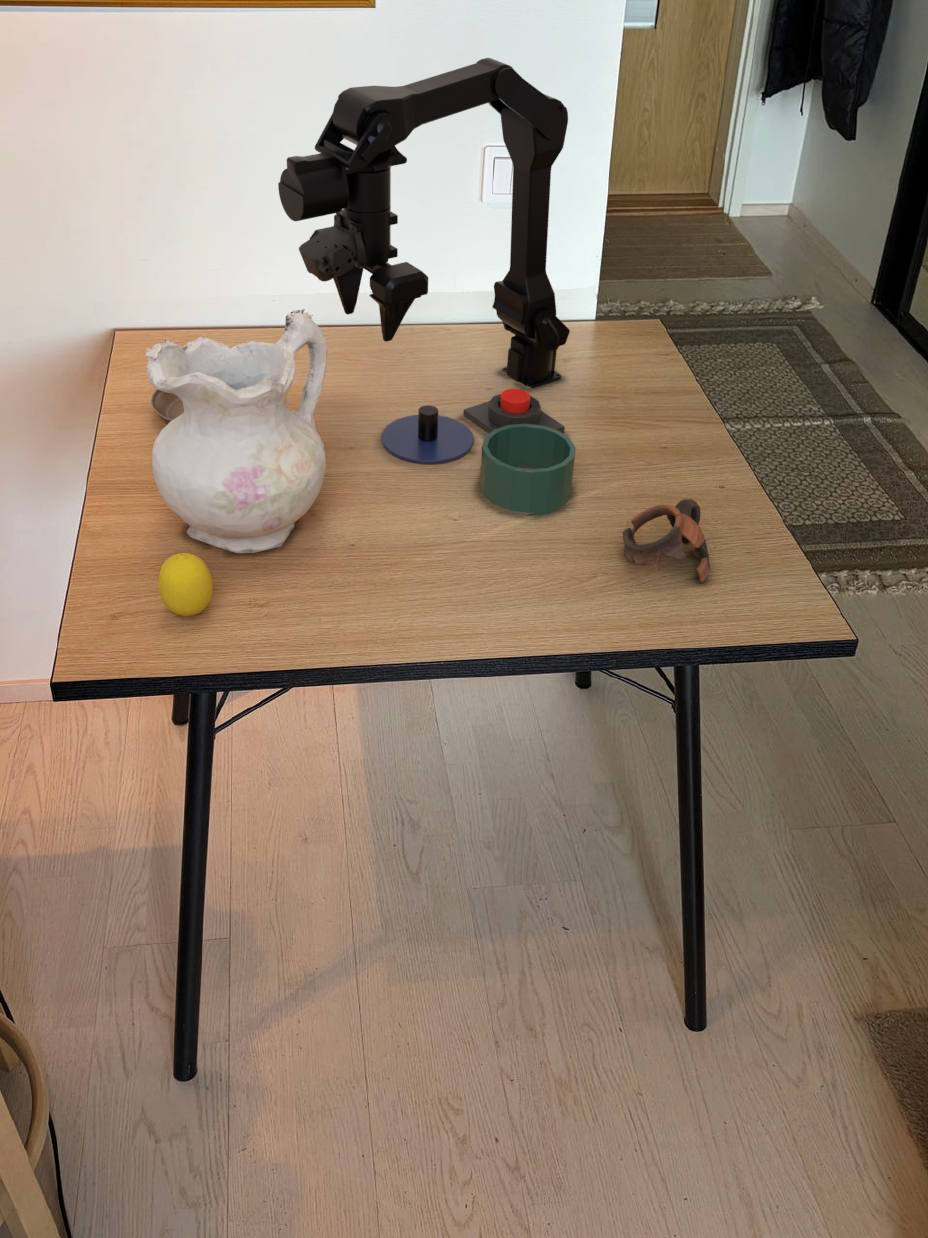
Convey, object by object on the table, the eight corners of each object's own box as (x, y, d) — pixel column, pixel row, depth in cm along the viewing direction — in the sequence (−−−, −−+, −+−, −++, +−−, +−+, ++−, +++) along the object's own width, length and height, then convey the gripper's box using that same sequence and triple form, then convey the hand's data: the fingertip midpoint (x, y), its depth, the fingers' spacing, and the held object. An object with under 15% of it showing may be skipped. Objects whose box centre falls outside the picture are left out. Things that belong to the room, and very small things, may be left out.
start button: (517, 397, 160) (518, 385, 159) (535, 409, 158) (536, 397, 156) (494, 404, 158) (494, 393, 157) (511, 417, 156) (512, 405, 155)
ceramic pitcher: (261, 467, 151) (234, 279, 136) (378, 510, 142) (363, 313, 127) (134, 543, 137) (88, 343, 122) (255, 596, 128) (221, 387, 113)
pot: (532, 458, 154) (536, 415, 150) (588, 498, 147) (594, 454, 143) (462, 483, 148) (464, 439, 144) (517, 526, 141) (521, 481, 137)
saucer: (272, 391, 165) (270, 374, 163) (253, 445, 153) (252, 427, 151) (167, 386, 165) (165, 368, 163) (141, 439, 153) (138, 421, 151)
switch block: (514, 402, 165) (516, 379, 163) (563, 435, 159) (566, 413, 156) (462, 418, 161) (464, 396, 159) (511, 454, 154) (513, 430, 152)
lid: (438, 412, 162) (439, 379, 159) (491, 451, 155) (493, 417, 151) (364, 436, 156) (363, 402, 153) (415, 477, 149) (415, 443, 146)
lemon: (171, 636, 123) (162, 575, 118) (157, 606, 126) (147, 546, 121) (222, 622, 125) (215, 562, 120) (206, 593, 128) (199, 534, 123)
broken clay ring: (703, 602, 132) (676, 550, 127) (630, 604, 138) (602, 555, 133) (734, 528, 138) (709, 476, 133) (663, 533, 144) (637, 483, 139)
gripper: (268, 192, 141) (276, 313, 151) (349, 243, 130) (352, 371, 139) (347, 177, 146) (350, 295, 156) (432, 225, 135) (429, 349, 145)
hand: (368, 326), depth 149 cm, fingers open, 9 cm apart
